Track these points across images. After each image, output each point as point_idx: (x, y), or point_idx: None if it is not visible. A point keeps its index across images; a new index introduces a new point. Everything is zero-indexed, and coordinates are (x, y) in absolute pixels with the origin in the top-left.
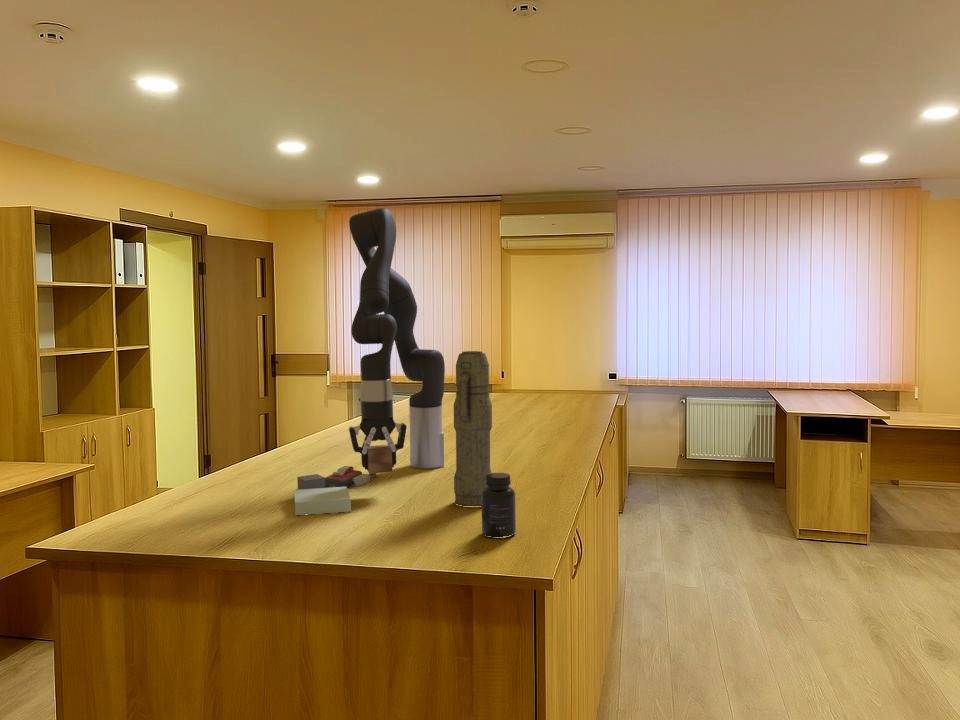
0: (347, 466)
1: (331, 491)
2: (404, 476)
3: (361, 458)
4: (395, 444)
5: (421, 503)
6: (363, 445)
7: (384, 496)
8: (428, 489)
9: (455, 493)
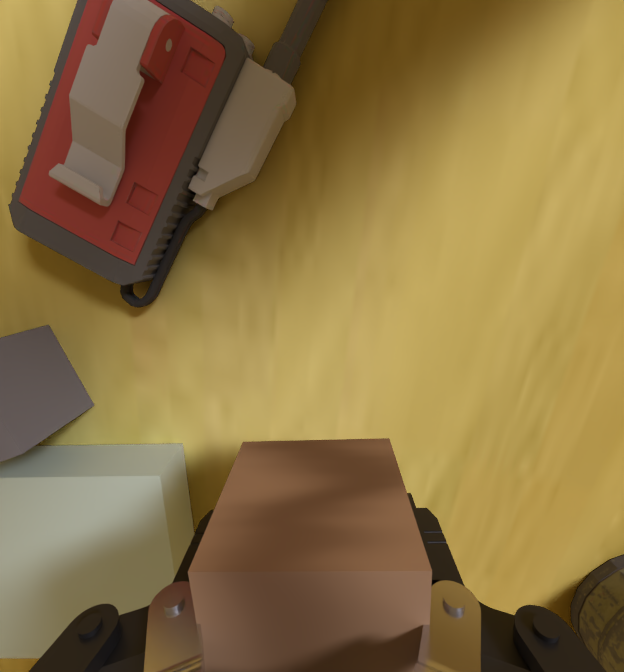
0: (127, 25)
1: (99, 542)
2: (515, 13)
3: (185, 555)
4: (498, 668)
5: (457, 566)
6: (157, 667)
7: (337, 439)
8: (550, 368)
9: (600, 660)
